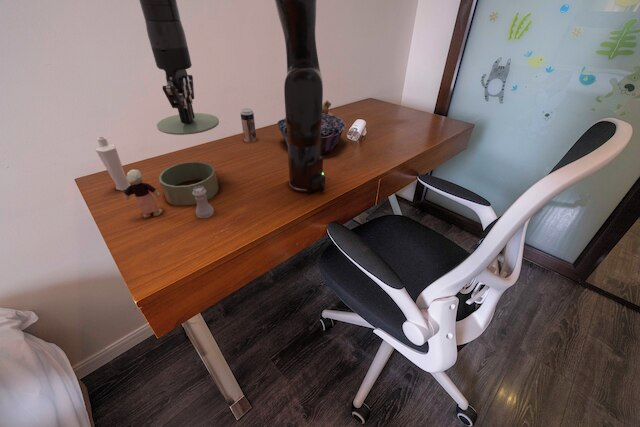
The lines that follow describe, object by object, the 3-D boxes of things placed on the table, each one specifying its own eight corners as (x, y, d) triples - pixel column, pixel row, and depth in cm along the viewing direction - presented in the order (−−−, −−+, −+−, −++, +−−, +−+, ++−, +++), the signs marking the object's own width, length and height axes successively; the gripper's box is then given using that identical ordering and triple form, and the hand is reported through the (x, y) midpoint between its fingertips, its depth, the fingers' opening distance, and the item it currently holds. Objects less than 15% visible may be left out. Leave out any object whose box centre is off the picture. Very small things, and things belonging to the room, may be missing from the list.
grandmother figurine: (165, 206, 75) (149, 163, 68) (167, 214, 73) (150, 170, 65) (133, 214, 72) (112, 170, 65) (133, 222, 70) (111, 177, 62)
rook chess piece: (216, 209, 75) (210, 183, 70) (211, 220, 71) (205, 193, 66) (199, 209, 75) (192, 183, 70) (194, 219, 71) (185, 193, 66)
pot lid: (231, 125, 76) (227, 103, 72) (178, 142, 66) (171, 117, 62) (198, 113, 83) (193, 92, 79) (146, 126, 73) (138, 103, 70)
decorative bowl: (268, 156, 105) (264, 131, 99) (294, 126, 125) (293, 103, 119) (333, 167, 100) (334, 141, 93) (350, 134, 119) (352, 111, 113)
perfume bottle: (128, 181, 85) (107, 133, 76) (135, 186, 83) (114, 137, 74) (112, 187, 82) (88, 138, 73) (118, 192, 80) (94, 142, 71)
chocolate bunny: (320, 118, 136) (320, 96, 130) (335, 120, 134) (337, 98, 128) (316, 122, 132) (316, 99, 126) (332, 124, 130) (333, 101, 124)
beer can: (253, 143, 110) (250, 112, 102) (242, 142, 110) (237, 111, 103) (258, 139, 113) (255, 108, 106) (247, 138, 114) (243, 107, 107)
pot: (228, 190, 82) (224, 171, 79) (184, 213, 73) (177, 193, 69) (199, 175, 89) (195, 157, 85) (156, 194, 80) (148, 174, 76)
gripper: (164, 40, 69) (183, 112, 79) (137, 48, 57) (162, 130, 68) (196, 41, 69) (210, 112, 79) (174, 49, 58) (194, 130, 68)
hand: (188, 120), depth 74 cm, fingers closed on pot lid, 2 cm apart
